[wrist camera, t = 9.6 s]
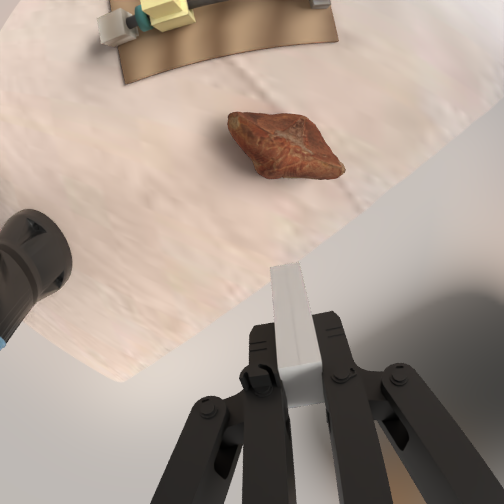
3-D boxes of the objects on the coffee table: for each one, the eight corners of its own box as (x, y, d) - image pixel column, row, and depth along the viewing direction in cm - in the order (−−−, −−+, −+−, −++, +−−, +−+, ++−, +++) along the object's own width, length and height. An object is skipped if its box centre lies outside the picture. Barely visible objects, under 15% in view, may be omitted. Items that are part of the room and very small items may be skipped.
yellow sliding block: (162, 32, 27) (138, 17, 20) (157, 4, 25) (132, -16, 18) (195, 22, 27) (179, 3, 20) (189, -6, 25) (172, -30, 18)
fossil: (205, 126, 31) (260, 131, 24) (253, 79, 32) (315, 74, 25) (266, 195, 40) (321, 218, 33) (303, 151, 40) (361, 165, 33)
